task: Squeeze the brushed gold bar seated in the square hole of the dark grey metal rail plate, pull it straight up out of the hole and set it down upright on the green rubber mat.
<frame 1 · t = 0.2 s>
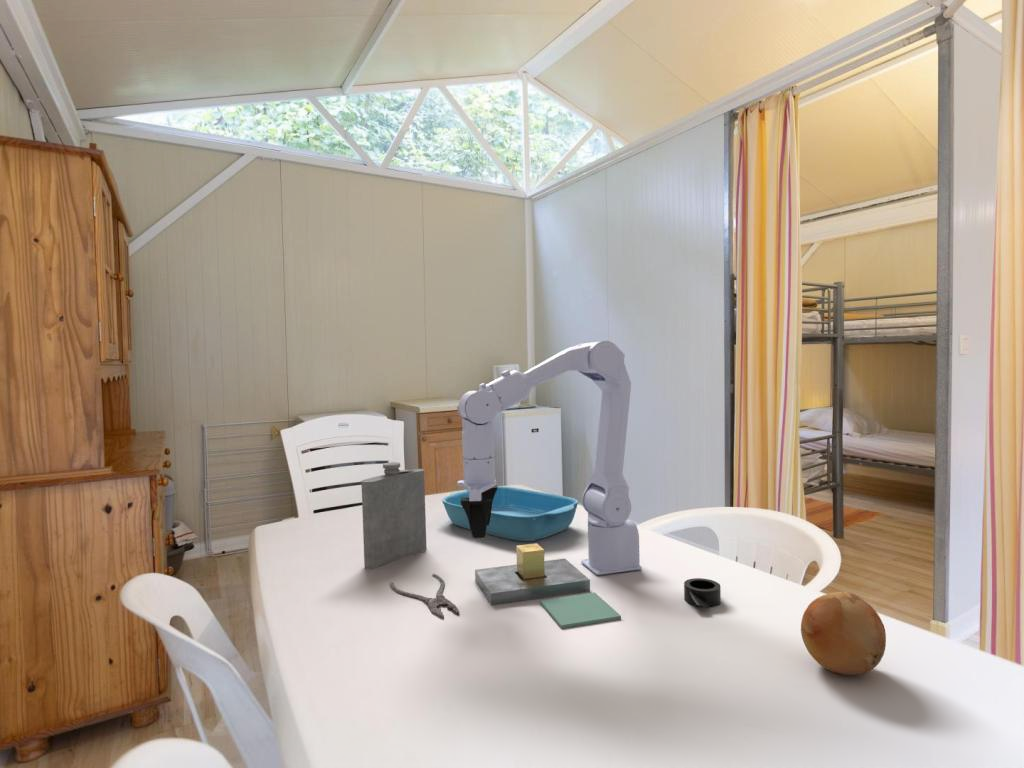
hand: (481, 531, 109), 10 cm above the table, fingers open, 7 cm apart
duct tape: (702, 602, 100), on the table
pliers: (436, 597, 106), on the table
rail plate: (530, 585, 109), on the table
casserole dish: (509, 527, 148), on the table
hip flask: (395, 558, 127), on the table
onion: (842, 671, 77), on the table
green mat: (579, 610, 97), on the table
brushed gold bar: (530, 566, 109), in the rail plate
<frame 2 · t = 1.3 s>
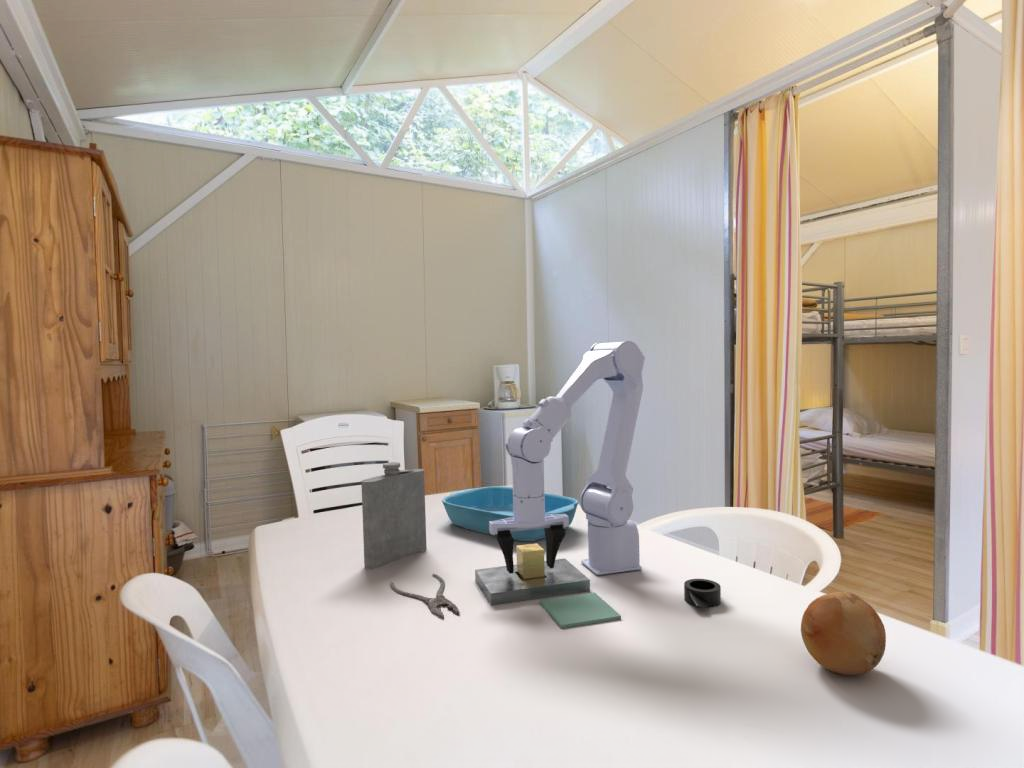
hand: (530, 568, 109), 3 cm above the table, fingers open, 7 cm apart
nothing on the table moved.
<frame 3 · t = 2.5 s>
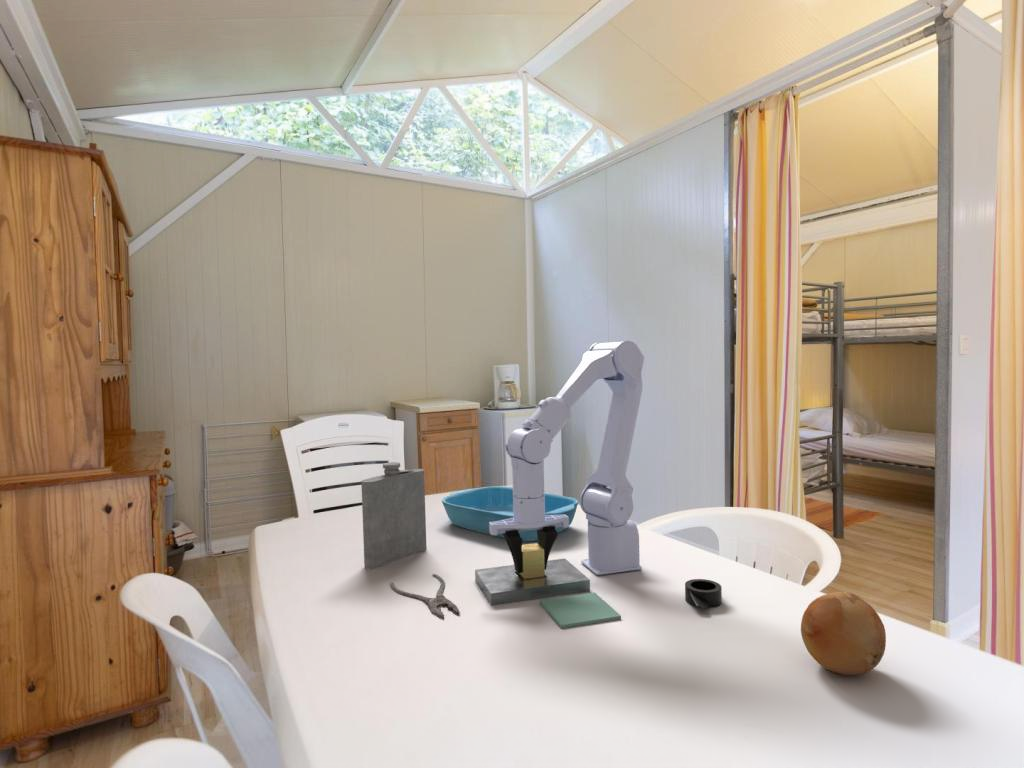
hand: (530, 569, 109), 3 cm above the table, fingers closed on brushed gold bar, 4 cm apart
brushed gold bar: (530, 566, 109), in the rail plate, touching gripper
everything else where it was.
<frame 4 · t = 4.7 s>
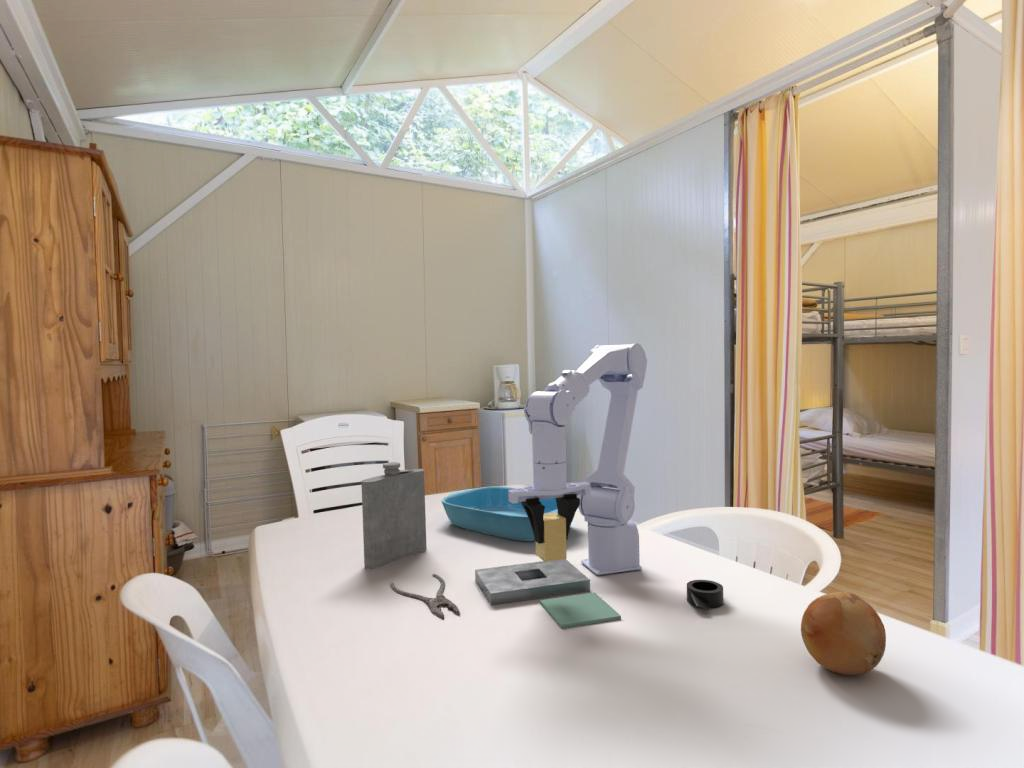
hand: (551, 540, 103), 10 cm above the table, fingers closed on brushed gold bar, 4 cm apart
brushed gold bar: (550, 536, 103), point 10 cm above the table, touching gripper
everything else where it was.
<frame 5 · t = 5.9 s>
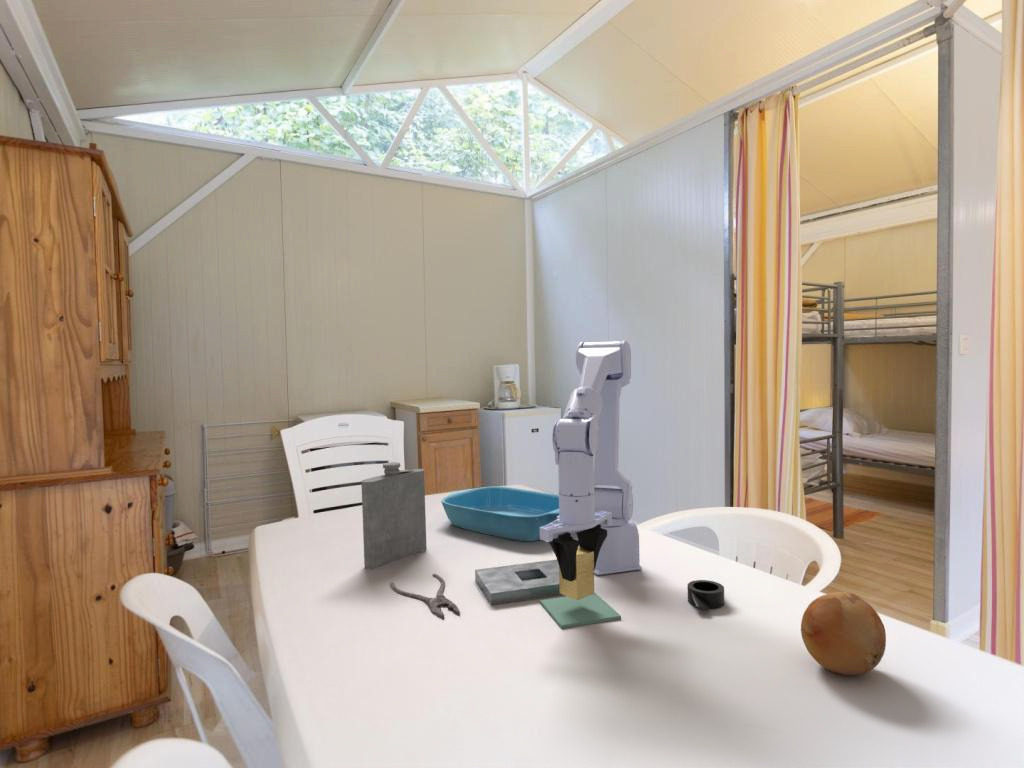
hand: (578, 575, 97), 6 cm above the table, fingers closed on brushed gold bar, 4 cm apart
brushed gold bar: (576, 572, 97), point 6 cm above the table, touching gripper
everything else where it was.
when the fingers open (4 cm above the table, at t = 7.0 s): brushed gold bar stays where it is, resting on green mat.
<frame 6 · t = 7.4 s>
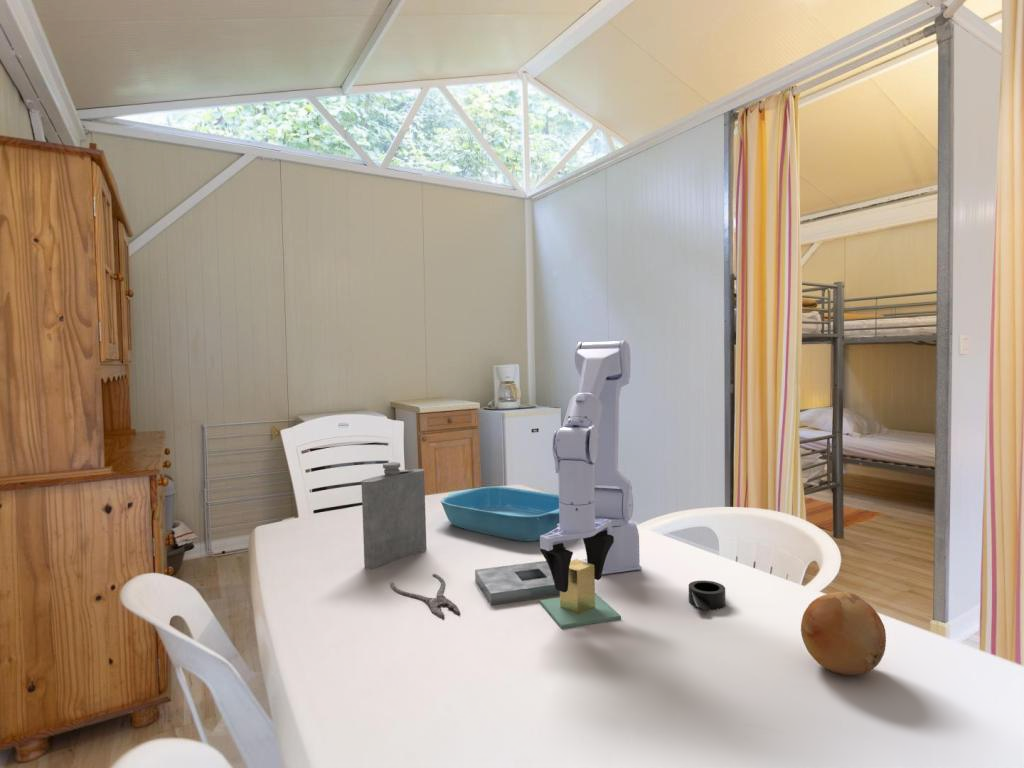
hand: (578, 584, 97), 4 cm above the table, fingers open, 7 cm apart
brushed gold bar: (577, 585, 97), on the green mat
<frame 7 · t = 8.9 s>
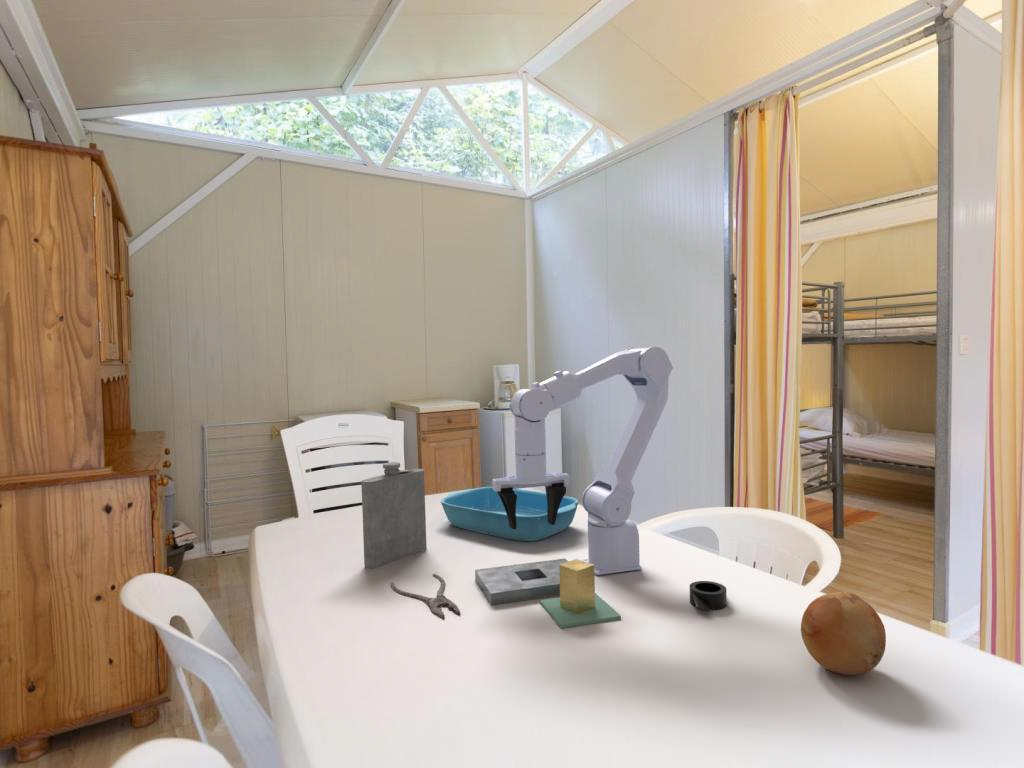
hand: (532, 525, 112), 10 cm above the table, fingers open, 7 cm apart
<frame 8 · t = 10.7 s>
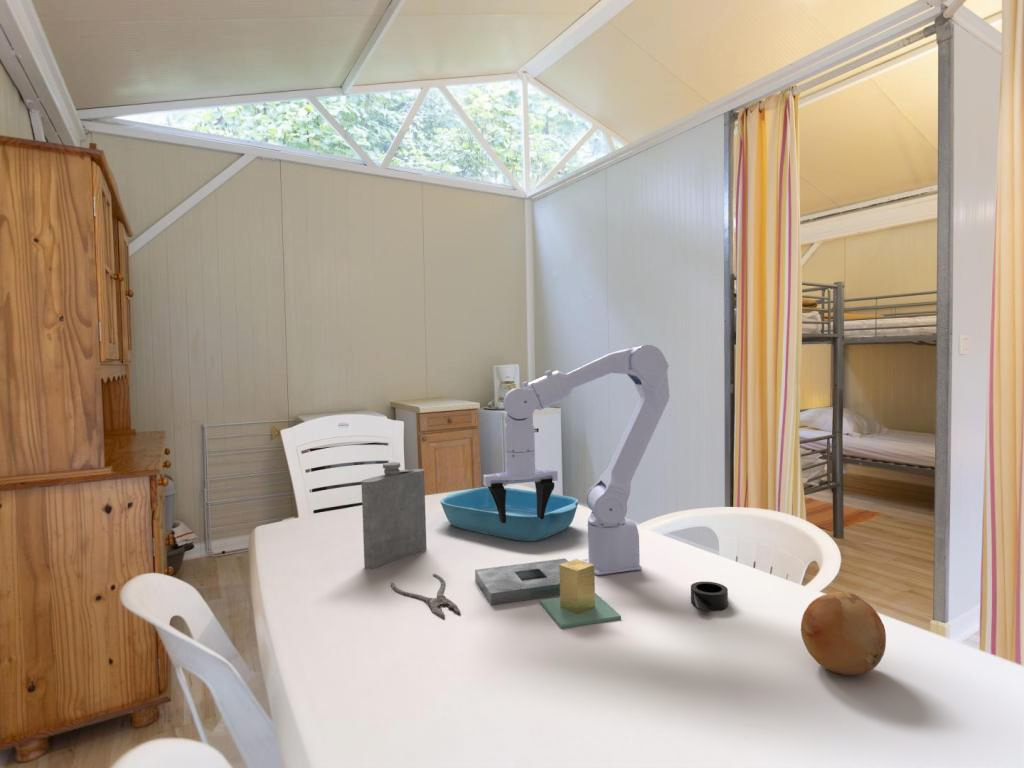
hand: (521, 519, 116), 10 cm above the table, fingers open, 7 cm apart
at the end: brushed gold bar inside the target area on the green mat (0.3 cm from its centre), point 4.0 cm above the green mat's base; brushed gold bar tilted 0°; the gripper is holding nothing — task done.
